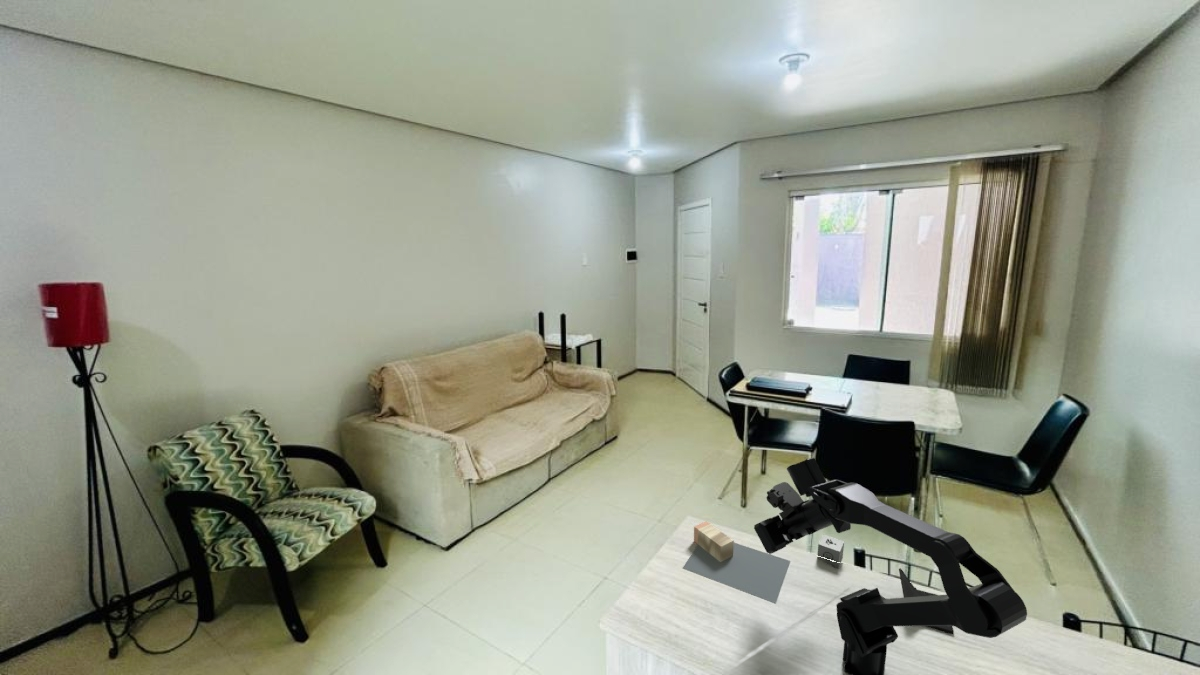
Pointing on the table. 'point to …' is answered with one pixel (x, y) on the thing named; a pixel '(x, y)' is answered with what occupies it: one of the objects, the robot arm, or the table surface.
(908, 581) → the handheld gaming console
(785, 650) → the table surface
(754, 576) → the slate mat
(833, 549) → the grey printed cube
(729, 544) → the beech block
